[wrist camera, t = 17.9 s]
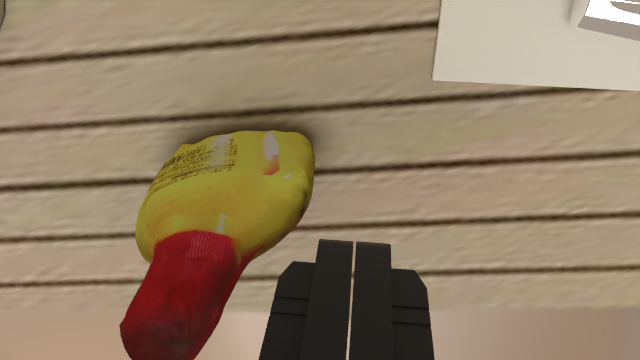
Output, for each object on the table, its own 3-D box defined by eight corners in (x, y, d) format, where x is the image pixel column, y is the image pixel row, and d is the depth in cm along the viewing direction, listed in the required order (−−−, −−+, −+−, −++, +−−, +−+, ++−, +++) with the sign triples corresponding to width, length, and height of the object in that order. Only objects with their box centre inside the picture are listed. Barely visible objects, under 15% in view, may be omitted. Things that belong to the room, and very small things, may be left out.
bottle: (313, 102, 38) (251, 297, 21) (334, 178, 41) (294, 402, 24) (163, 132, 41) (0, 327, 24) (193, 201, 44) (68, 417, 27)
